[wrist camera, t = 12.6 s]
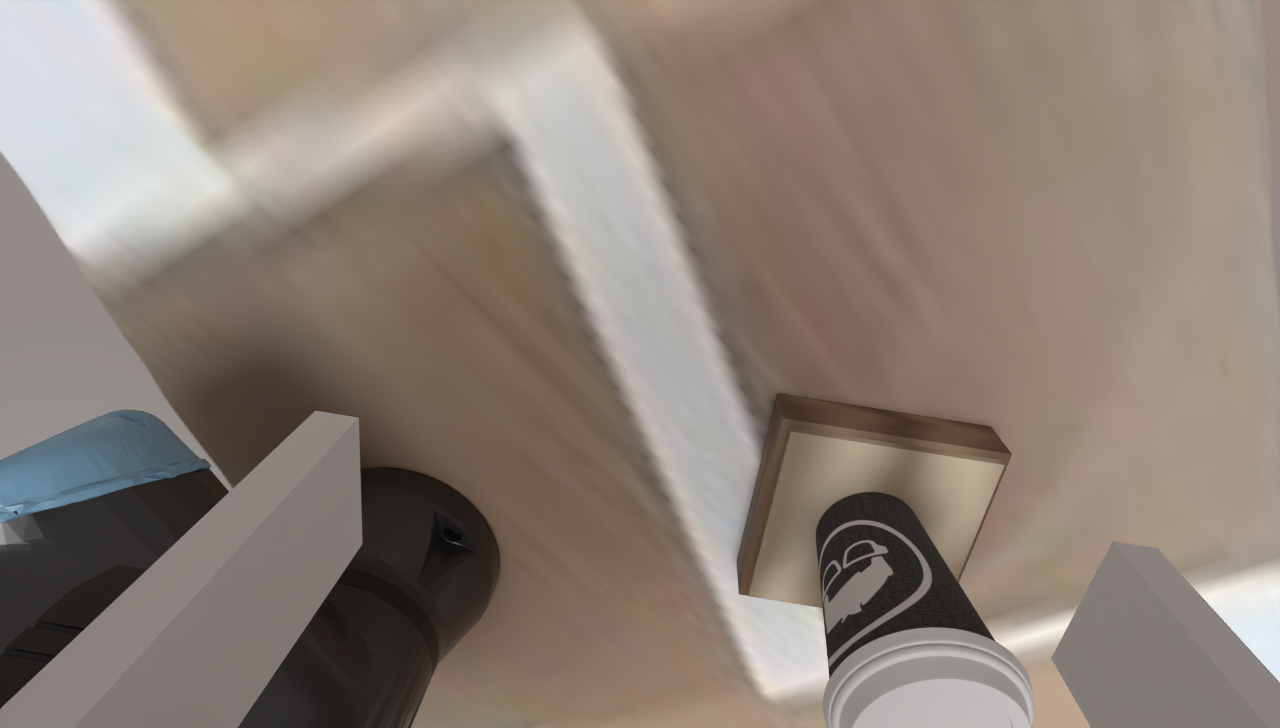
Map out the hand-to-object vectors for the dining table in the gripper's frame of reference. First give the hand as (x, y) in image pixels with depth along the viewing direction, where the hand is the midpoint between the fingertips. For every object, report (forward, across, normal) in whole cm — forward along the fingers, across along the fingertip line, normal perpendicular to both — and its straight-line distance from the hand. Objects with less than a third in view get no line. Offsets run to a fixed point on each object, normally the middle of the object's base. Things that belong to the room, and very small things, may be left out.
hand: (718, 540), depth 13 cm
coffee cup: (+28, +14, -19) cm, 36 cm away
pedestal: (+32, +14, -19) cm, 39 cm away
